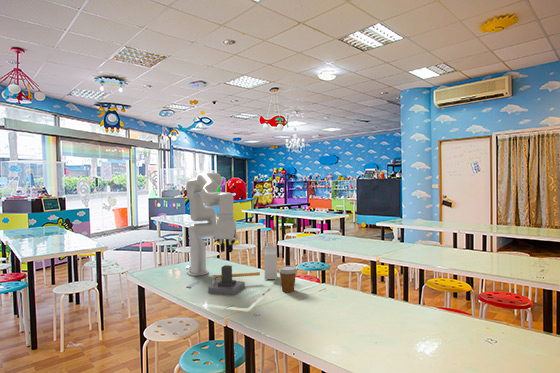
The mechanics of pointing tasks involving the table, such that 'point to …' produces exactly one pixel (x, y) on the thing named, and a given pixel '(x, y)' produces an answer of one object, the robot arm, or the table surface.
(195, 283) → the mat
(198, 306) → the table surface
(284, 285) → the disposable coffee cup
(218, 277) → the orange rod with ball
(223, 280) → the plug
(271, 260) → the milk carton
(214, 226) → the robot arm
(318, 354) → the table surface
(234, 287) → the socket
